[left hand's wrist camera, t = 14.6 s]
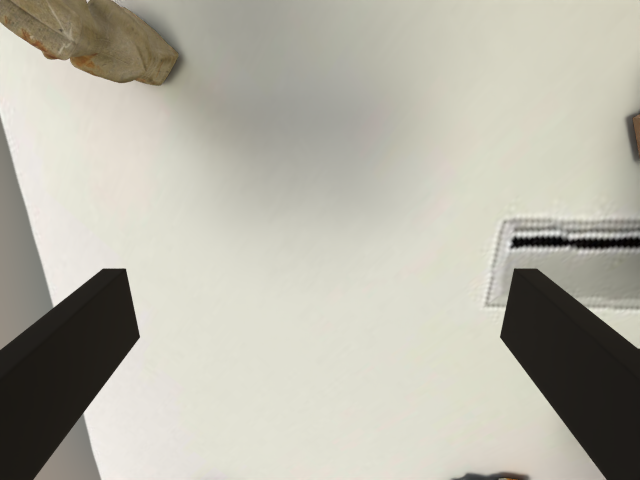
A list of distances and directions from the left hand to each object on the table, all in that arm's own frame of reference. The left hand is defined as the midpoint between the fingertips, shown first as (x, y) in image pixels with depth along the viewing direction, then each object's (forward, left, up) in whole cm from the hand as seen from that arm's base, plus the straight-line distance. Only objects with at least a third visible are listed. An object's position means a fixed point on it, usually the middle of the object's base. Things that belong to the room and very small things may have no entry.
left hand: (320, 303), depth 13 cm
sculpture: (-11, -17, -31) cm, 37 cm away
